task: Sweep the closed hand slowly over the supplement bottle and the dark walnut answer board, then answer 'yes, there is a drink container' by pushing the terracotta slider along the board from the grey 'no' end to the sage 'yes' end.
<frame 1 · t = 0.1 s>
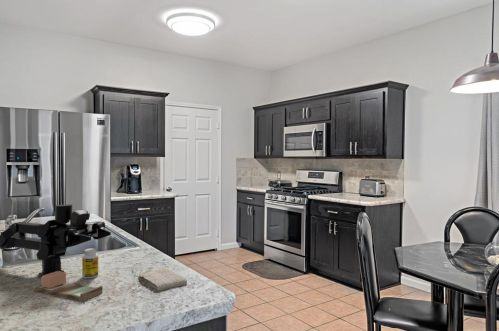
hand: (101, 236, 130), 17 cm above the countertop, tool horizontal, fingers open, 9 cm apart
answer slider: (54, 279, 123), point 3 cm above the countertop, slide at 0.0 cm
supplement bottle: (90, 277, 136), on the countertop
washcloth: (161, 283, 131), on the countertop
switch base: (68, 292, 120), on the countertop
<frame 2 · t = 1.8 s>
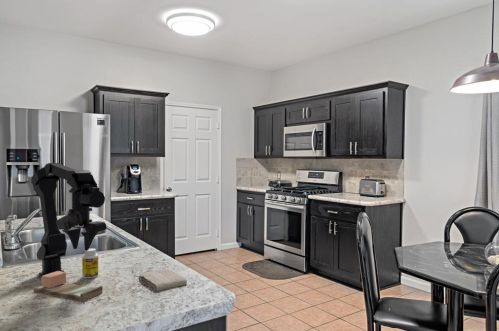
hand: (81, 249, 129), 12 cm above the countertop, tool pointing down, fingers open, 5 cm apart
nothing on the countertop moved.
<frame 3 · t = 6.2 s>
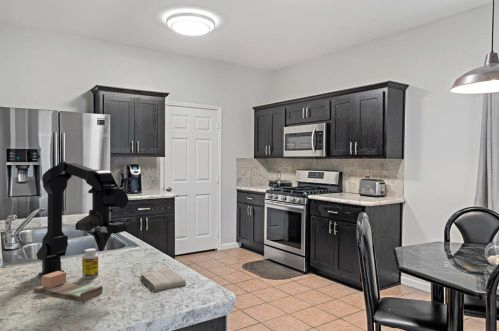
hand: (101, 250, 127), 12 cm above the countertop, tool pointing down, fingers closed
nothing on the countertop moved.
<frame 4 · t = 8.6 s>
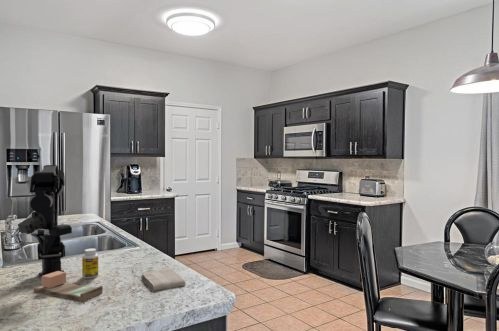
hand: (45, 253, 125), 12 cm above the countertop, tool pointing down, fingers closed
nothing on the countertop moved.
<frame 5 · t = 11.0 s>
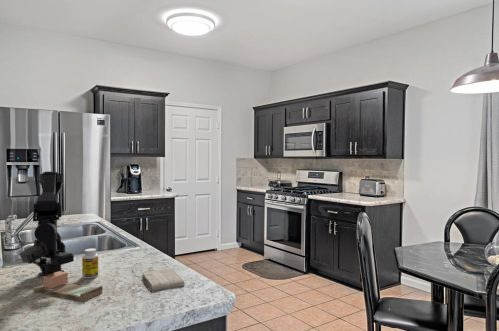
hand: (47, 281, 124), 2 cm above the countertop, tool pointing down, fingers closed
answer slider: (55, 279, 122), point 3 cm above the countertop, slide at 0.8 cm, touching gripper
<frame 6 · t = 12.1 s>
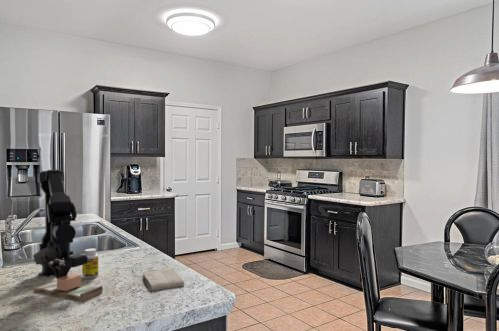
hand: (60, 283, 121), 2 cm above the countertop, tool pointing down, fingers closed
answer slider: (69, 281, 120), point 3 cm above the countertop, slide at 7.1 cm, touching gripper
everything else where it was.
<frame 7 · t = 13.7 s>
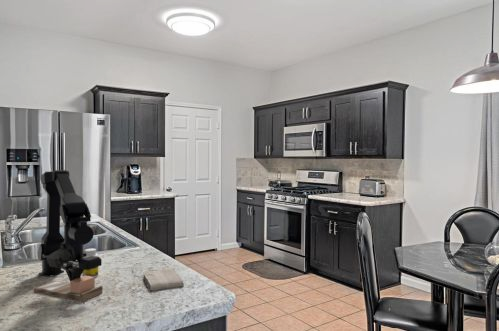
hand: (74, 286, 119), 2 cm above the countertop, tool pointing down, fingers closed
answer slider: (82, 284, 118), point 3 cm above the countertop, slide at 13.0 cm, touching gripper
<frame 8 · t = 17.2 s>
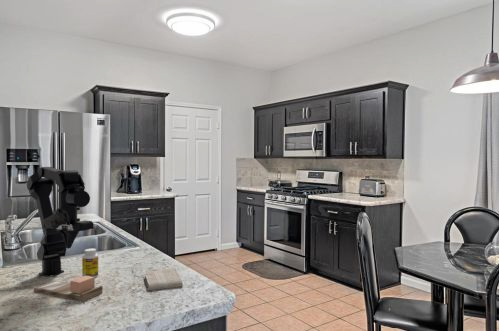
hand: (68, 248, 131), 12 cm above the countertop, tool pointing down, fingers closed
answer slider: (82, 284, 118), point 3 cm above the countertop, slide at 13.0 cm
at the end: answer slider slide at 13.0 cm; supplement bottle moved 0.2 cm from its start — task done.
